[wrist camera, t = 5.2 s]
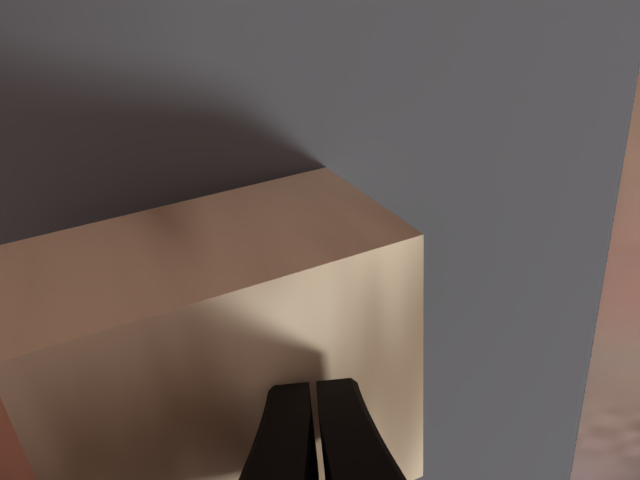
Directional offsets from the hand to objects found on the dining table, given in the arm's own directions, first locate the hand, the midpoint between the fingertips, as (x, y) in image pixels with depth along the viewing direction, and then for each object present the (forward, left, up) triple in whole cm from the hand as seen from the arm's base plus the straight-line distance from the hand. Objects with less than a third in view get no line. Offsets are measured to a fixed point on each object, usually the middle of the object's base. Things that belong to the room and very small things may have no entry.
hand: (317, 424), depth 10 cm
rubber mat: (0, 0, -5) cm, 5 cm away
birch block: (0, -1, -3) cm, 3 cm away
